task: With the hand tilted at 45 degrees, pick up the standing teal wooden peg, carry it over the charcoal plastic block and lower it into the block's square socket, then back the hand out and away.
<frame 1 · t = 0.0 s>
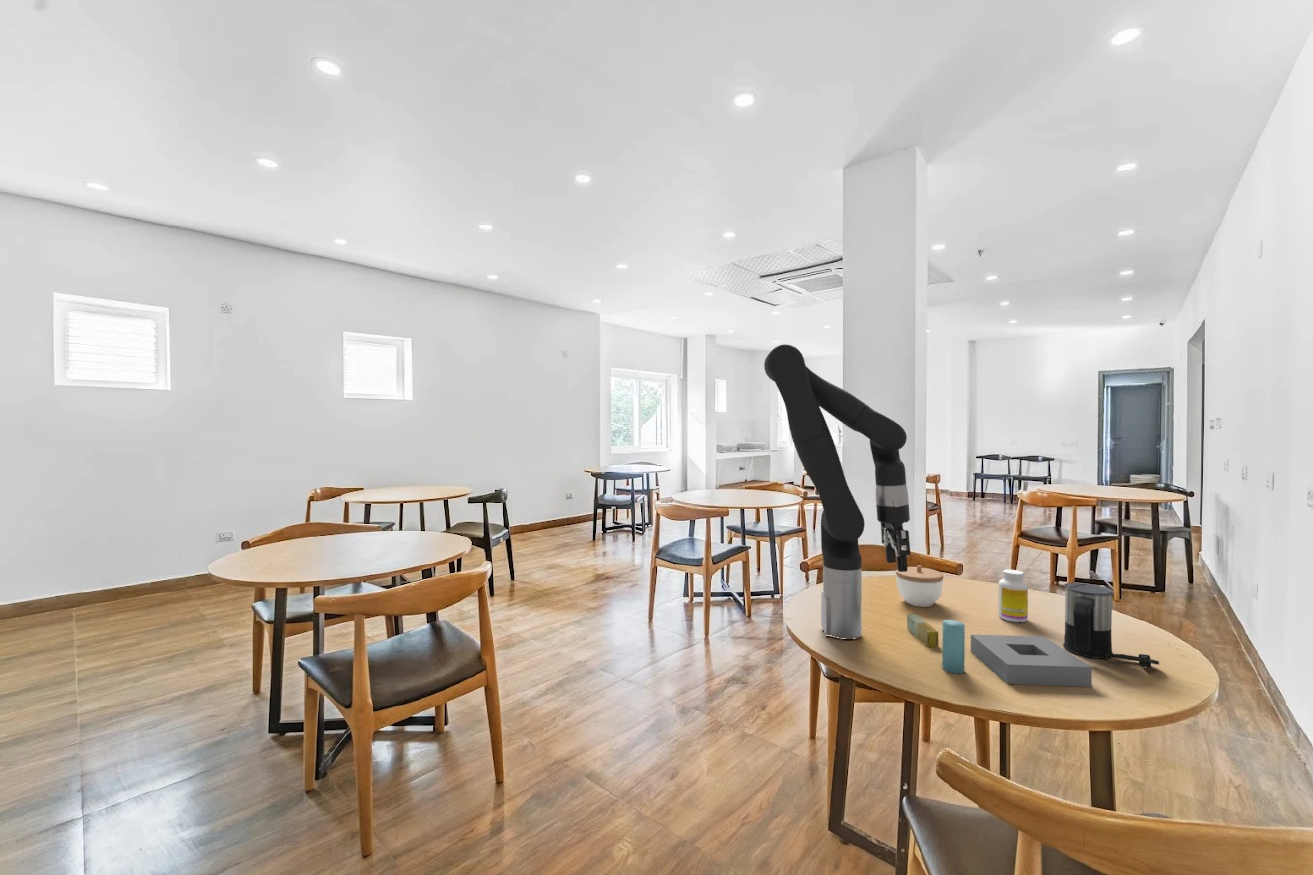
hand: (896, 566, 139), 17 cm above the table, tool pointing down, fingers open, 8 cm apart
peg: (953, 669, 120), on the table
milk frother: (1108, 658, 125), on the table
medication box: (922, 639, 138), on the table
lidded bowl: (919, 603, 164), on the table
supplement bottle: (1012, 619, 150), on the table
socket block: (1026, 667, 120), on the table
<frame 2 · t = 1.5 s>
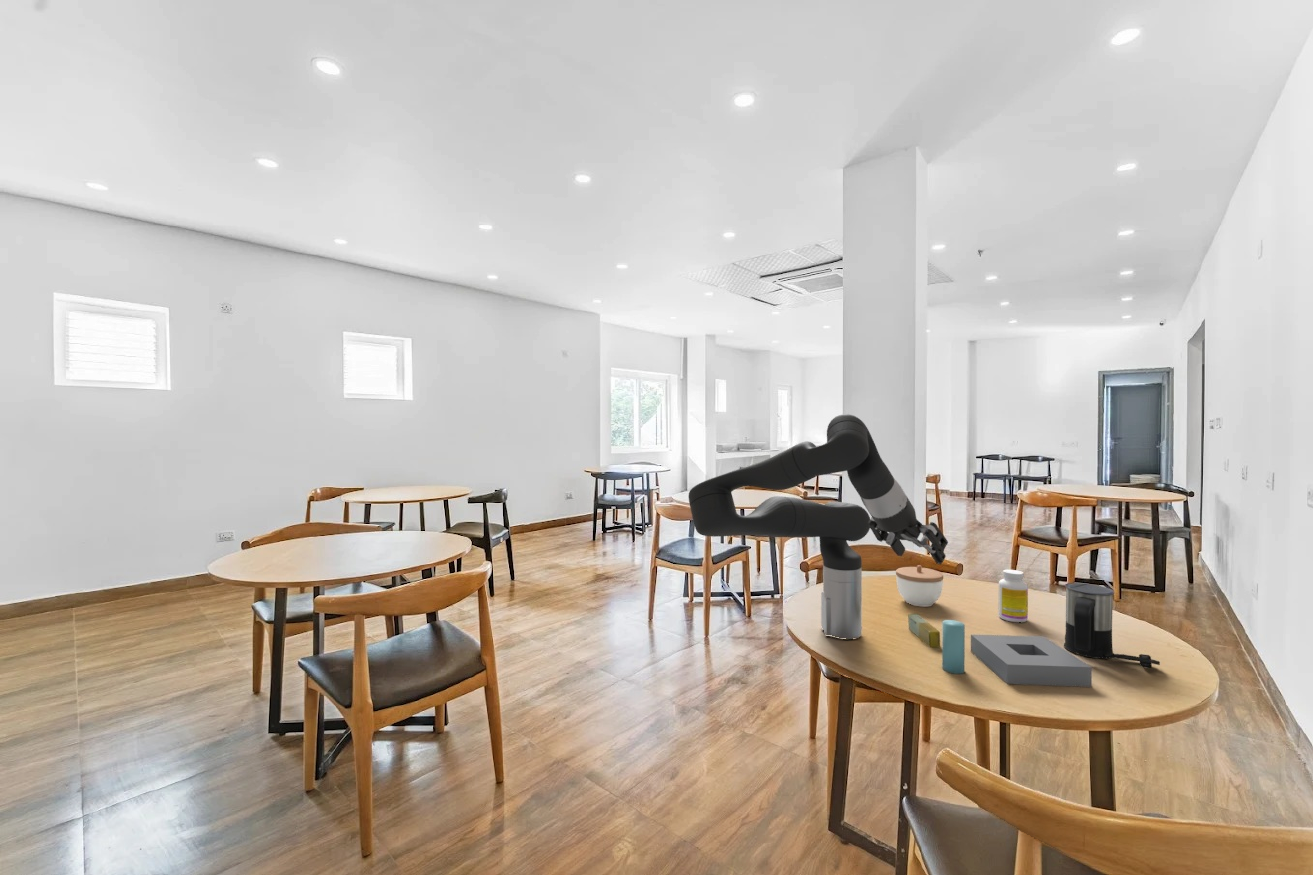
hand: (921, 556, 113), 26 cm above the table, tool tilted 40°, fingers open, 8 cm apart
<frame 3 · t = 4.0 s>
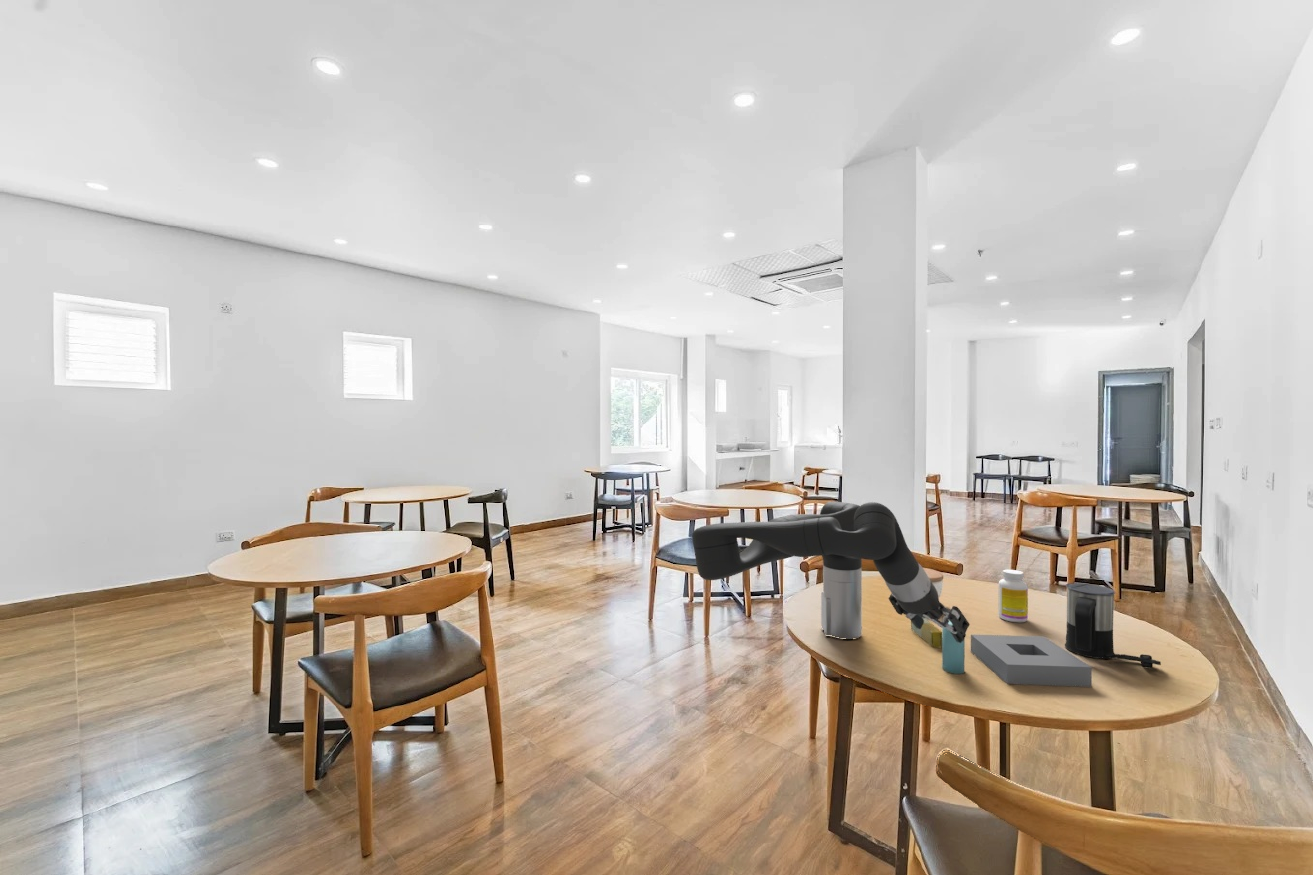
hand: (940, 631, 114), 10 cm above the table, tool tilted 45°, fingers open, 8 cm apart
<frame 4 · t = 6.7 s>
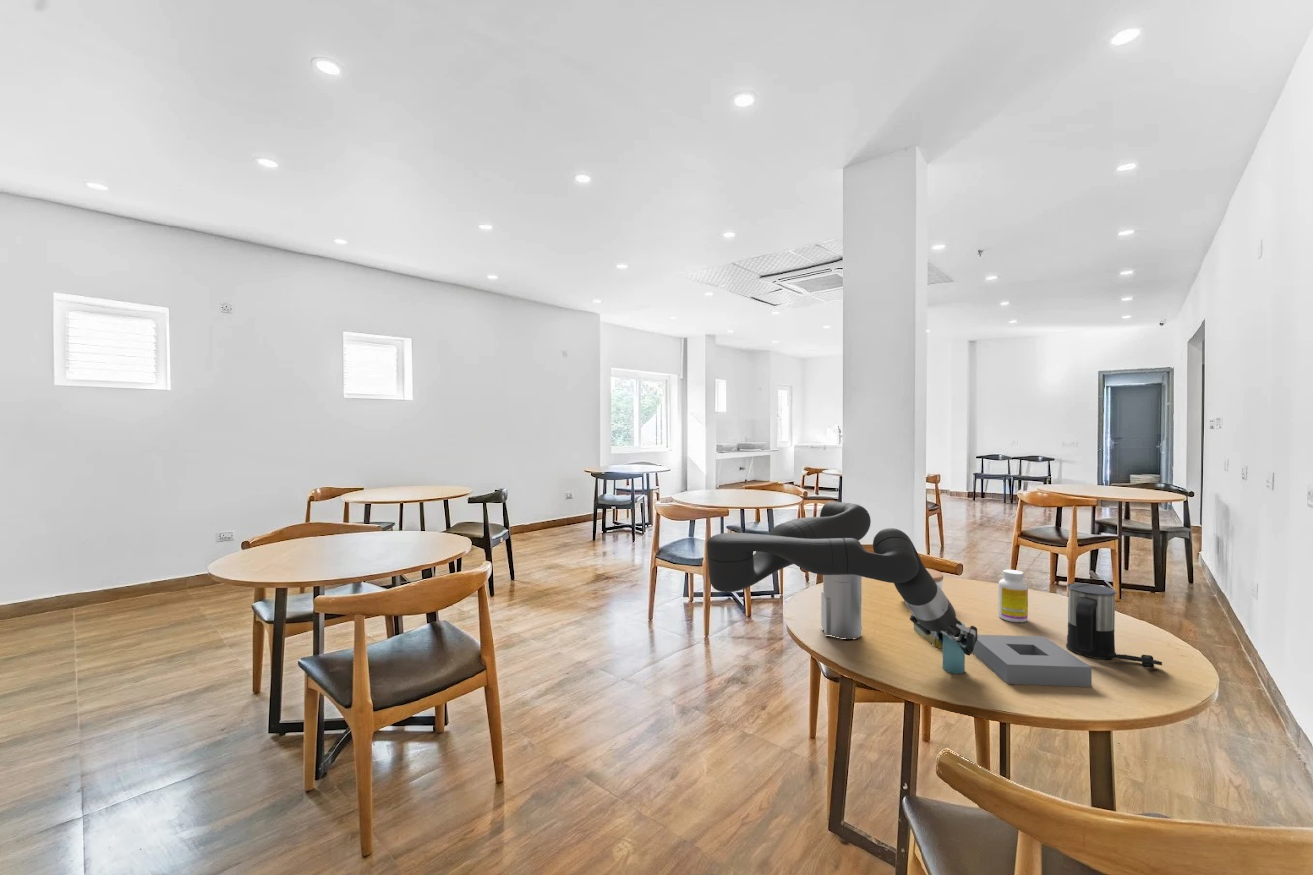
hand: (958, 647, 121), 4 cm above the table, tool tilted 45°, fingers closed on peg, 4 cm apart
peg: (953, 669, 120), on the table, touching gripper
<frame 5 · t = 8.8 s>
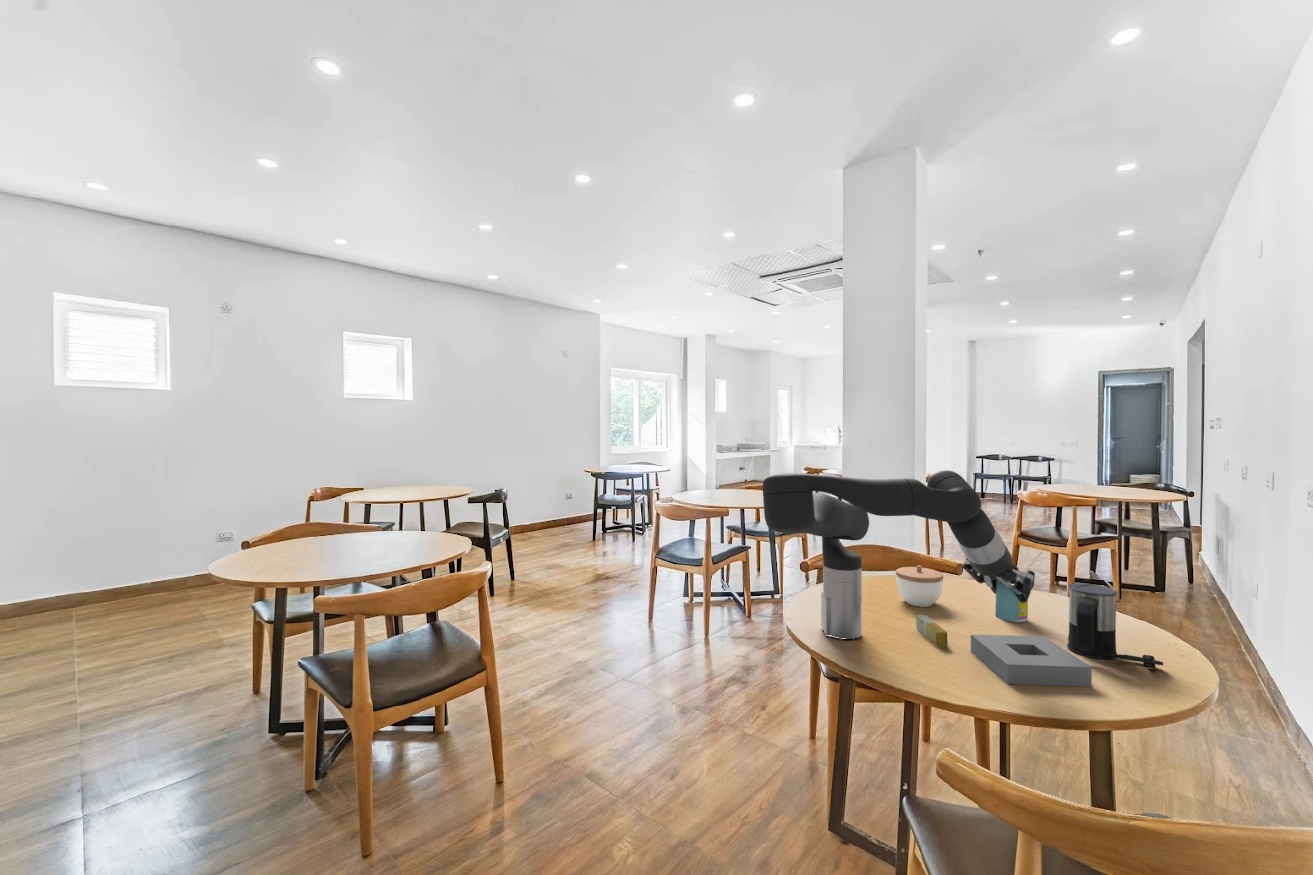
hand: (1012, 596, 119), 16 cm above the table, tool tilted 45°, fingers closed on peg, 4 cm apart
peg: (1006, 617, 118), point 12 cm above the table, touching gripper
when the fingers open (6 cm above the table, at t = 11.0 s): peg drops 2 cm, resting in socket block.
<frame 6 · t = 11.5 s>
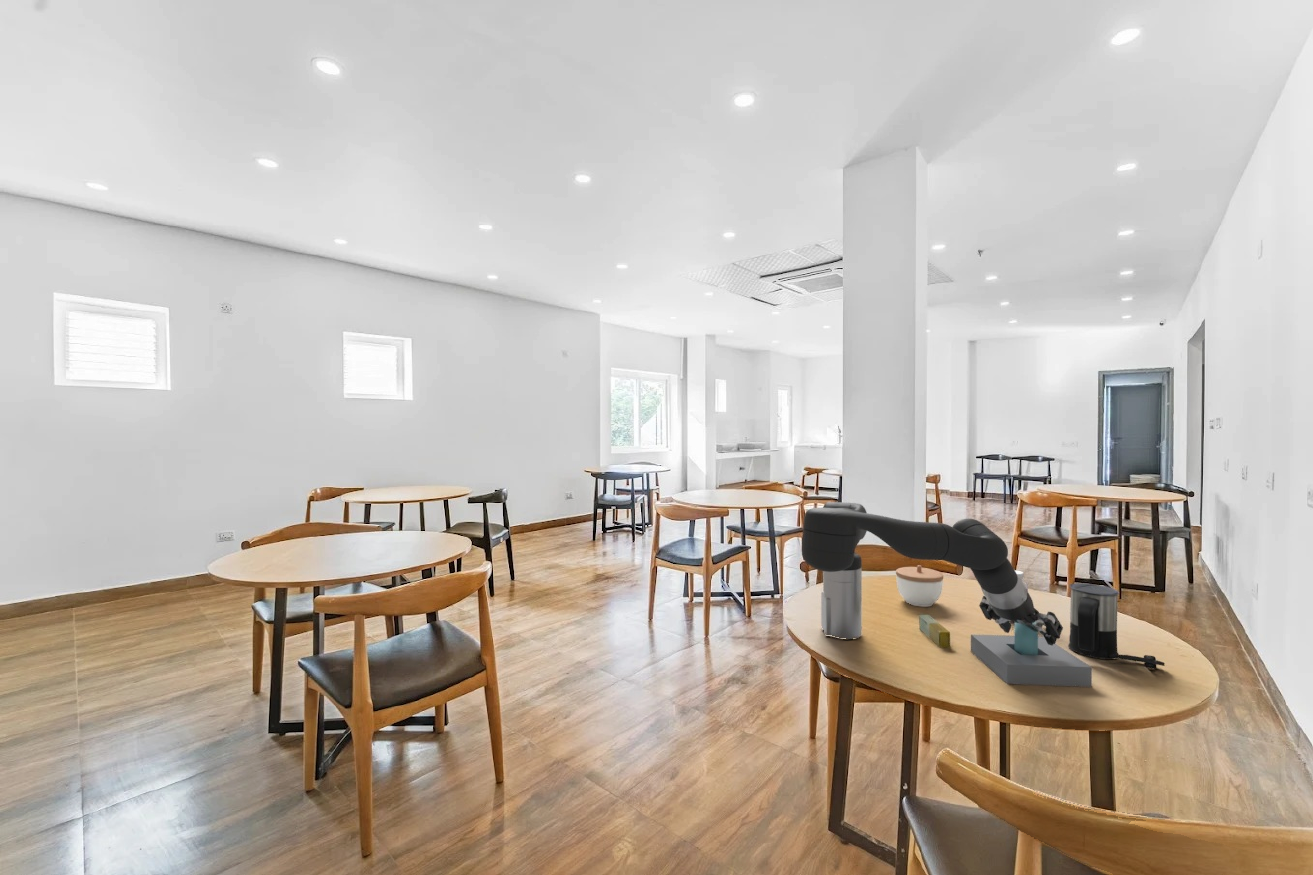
hand: (1029, 635, 121), 7 cm above the table, tool tilted 45°, fingers open, 8 cm apart
peg: (1025, 668, 120), resting in socket block
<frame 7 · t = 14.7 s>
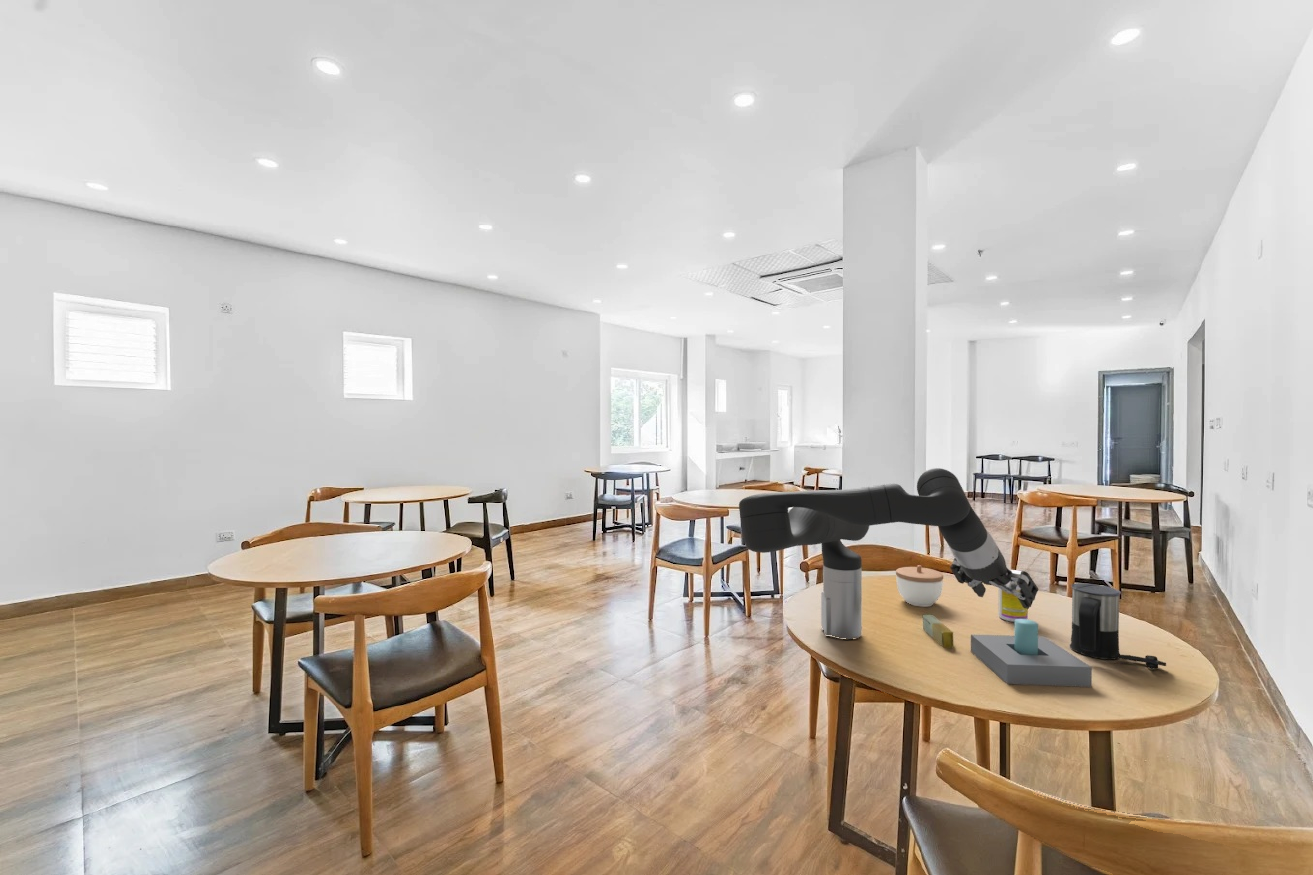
hand: (1004, 599, 112), 18 cm above the table, tool tilted 45°, fingers open, 8 cm apart
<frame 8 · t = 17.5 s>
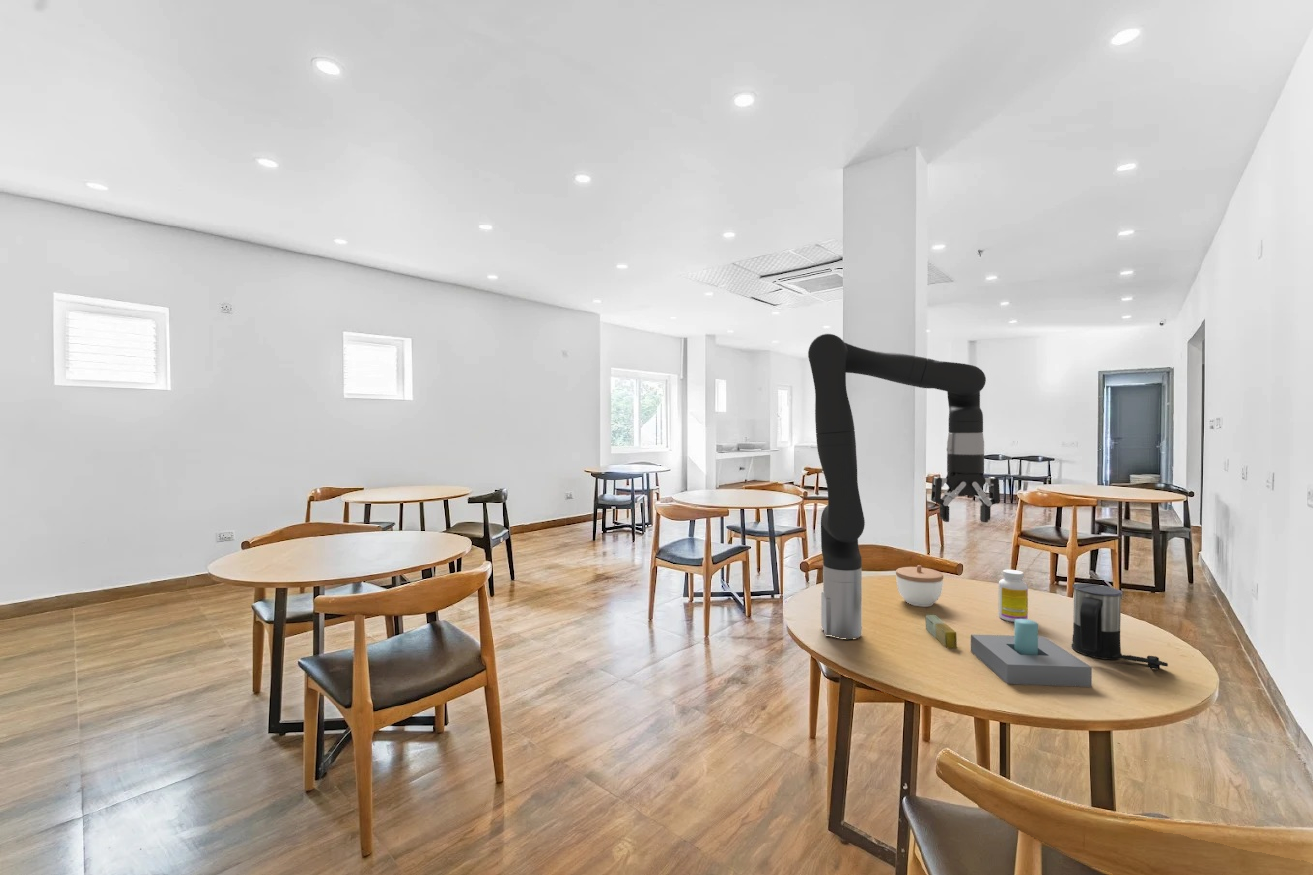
hand: (964, 521, 129), 30 cm above the table, tool pointing down, fingers open, 8 cm apart
at the end: peg 0.2 cm off-centre on the socket block, point 0.0 cm above the socket block's base; peg tilted 0°; the gripper is holding nothing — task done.
